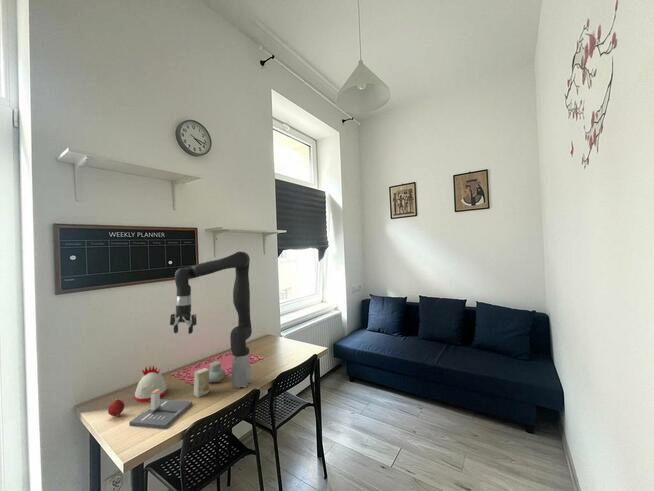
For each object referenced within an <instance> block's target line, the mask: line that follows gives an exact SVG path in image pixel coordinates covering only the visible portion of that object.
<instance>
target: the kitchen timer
mask: <svg viewBox="0 0 654 491" xmlns="http://www.w3.org/2000/svg"><path fill="white" fill-rule="evenodd" d="M141 372H142V374H143V376H142V377H141V379H140V380H139V381H138V382H137V385H136V390H135V393H134V400H135V401H136V402H139V403H147V402H151V392H153V391H154V390H156V389H160V398H161V397H163V396H164V395H165V394H166V393H167V389H168V388H167V383H166V381H165V378H164V376H163V375H162V374H161V373H160V372H161V368H159V369H158V366H157V367H155V366H154V364H153V366H151V365H150V366H149V367H147V366H145V368H144V369H142V370H141Z"/></svg>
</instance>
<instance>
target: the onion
mask: <svg viewBox="0 0 654 491" xmlns="http://www.w3.org/2000/svg"><path fill="white" fill-rule="evenodd" d="M124 409H125V403H124V401H123V400H121V399H118V398H115V399H114V400H113V402H112V403H110V404H109V406H108V409H107V413H108V415H110V416H112V417H114V418H116V417H118V416H119V415H120V414H122V413H123V411H124Z"/></svg>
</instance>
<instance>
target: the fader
mask: <svg viewBox="0 0 654 491" xmlns="http://www.w3.org/2000/svg"><path fill="white" fill-rule="evenodd" d="M160 399H161V397H160V389H156V390H154V391H153V392H151V401H150V407H151V410H149V413H153V412H154V411H156V410H157V409H158V408H160V407H161V405H160Z"/></svg>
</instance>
